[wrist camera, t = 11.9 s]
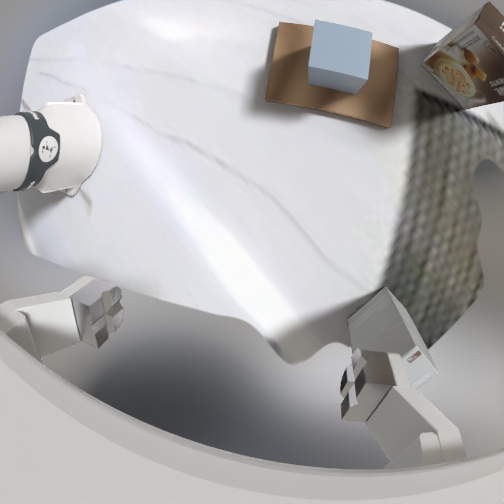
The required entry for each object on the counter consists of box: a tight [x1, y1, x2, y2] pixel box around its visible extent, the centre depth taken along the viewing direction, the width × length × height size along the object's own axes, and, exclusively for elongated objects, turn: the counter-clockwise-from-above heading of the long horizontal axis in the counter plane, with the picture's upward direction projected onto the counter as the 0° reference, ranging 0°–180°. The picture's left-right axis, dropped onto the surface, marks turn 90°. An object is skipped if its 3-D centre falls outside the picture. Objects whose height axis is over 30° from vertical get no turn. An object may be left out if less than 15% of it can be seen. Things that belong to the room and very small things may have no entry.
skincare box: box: [347, 287, 439, 389], centre depth 31 cm, size 8×7×16 cm
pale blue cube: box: [308, 20, 372, 95], centre depth 24 cm, size 6×6×8 cm
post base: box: [265, 22, 399, 128], centre depth 25 cm, size 16×12×7 cm
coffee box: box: [421, 2, 504, 110], centre depth 16 cm, size 9×6×16 cm
